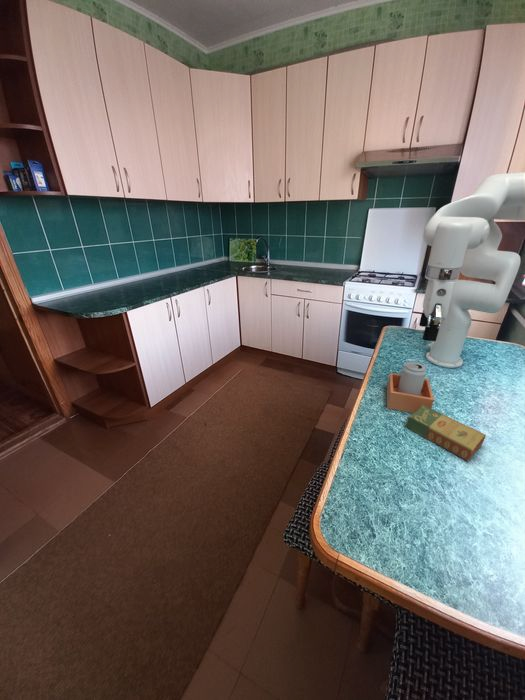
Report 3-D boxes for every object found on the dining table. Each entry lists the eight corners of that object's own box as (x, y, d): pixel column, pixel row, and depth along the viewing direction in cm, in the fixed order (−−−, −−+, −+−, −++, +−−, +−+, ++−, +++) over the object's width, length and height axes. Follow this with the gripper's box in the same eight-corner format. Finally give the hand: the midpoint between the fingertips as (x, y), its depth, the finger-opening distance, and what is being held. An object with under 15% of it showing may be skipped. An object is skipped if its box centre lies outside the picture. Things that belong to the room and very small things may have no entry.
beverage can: (420, 405, 89) (430, 372, 83) (398, 403, 90) (406, 370, 84) (415, 393, 94) (424, 361, 89) (394, 391, 95) (401, 359, 90)
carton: (468, 462, 70) (473, 450, 69) (405, 427, 82) (408, 415, 80) (481, 446, 75) (486, 434, 73) (419, 414, 86) (423, 403, 84)
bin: (386, 387, 99) (389, 372, 96) (424, 394, 95) (428, 378, 93) (387, 408, 89) (390, 392, 87) (429, 416, 86) (434, 399, 83)
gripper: (467, 282, 66) (447, 348, 74) (452, 266, 80) (437, 323, 88) (430, 280, 69) (414, 344, 77) (422, 264, 83) (410, 320, 91)
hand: (426, 333), depth 83 cm, fingers open, 9 cm apart
